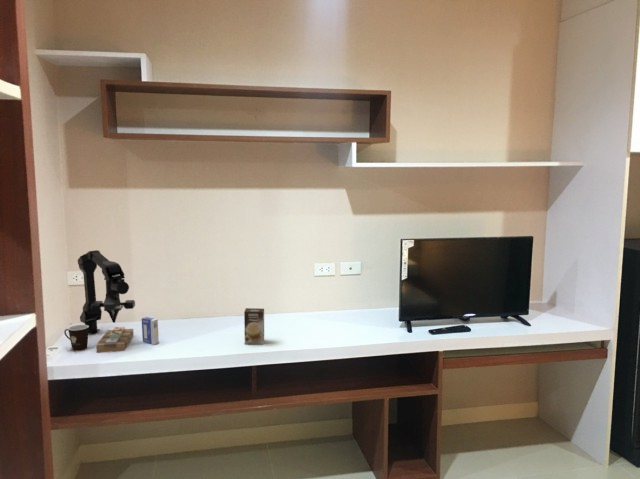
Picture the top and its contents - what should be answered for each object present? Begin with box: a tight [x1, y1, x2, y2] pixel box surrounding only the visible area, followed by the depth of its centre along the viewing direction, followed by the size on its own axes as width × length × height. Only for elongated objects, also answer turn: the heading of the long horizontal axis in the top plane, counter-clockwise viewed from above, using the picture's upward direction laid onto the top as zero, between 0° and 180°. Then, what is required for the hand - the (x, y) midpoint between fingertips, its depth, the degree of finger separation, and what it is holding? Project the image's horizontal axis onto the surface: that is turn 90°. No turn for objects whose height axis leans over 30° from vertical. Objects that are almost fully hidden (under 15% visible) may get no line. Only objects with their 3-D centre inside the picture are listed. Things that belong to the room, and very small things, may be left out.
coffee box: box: [243, 307, 265, 346], centre depth 245 cm, size 9×6×16 cm
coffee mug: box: [64, 324, 89, 352], centre depth 239 cm, size 12×9×10 cm
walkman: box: [141, 316, 160, 345], centre depth 246 cm, size 8×3×12 cm, turn 61°
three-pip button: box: [109, 331, 122, 339], centre depth 244 cm, size 5×5×3 cm
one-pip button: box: [106, 338, 119, 344], centre depth 238 cm, size 5×5×3 cm
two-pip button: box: [111, 326, 126, 333], centre depth 251 cm, size 5×5×3 cm
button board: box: [95, 328, 135, 353], centre depth 245 cm, size 22×12×4 cm, turn 10°
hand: (114, 322), depth 244 cm, fingers closed
